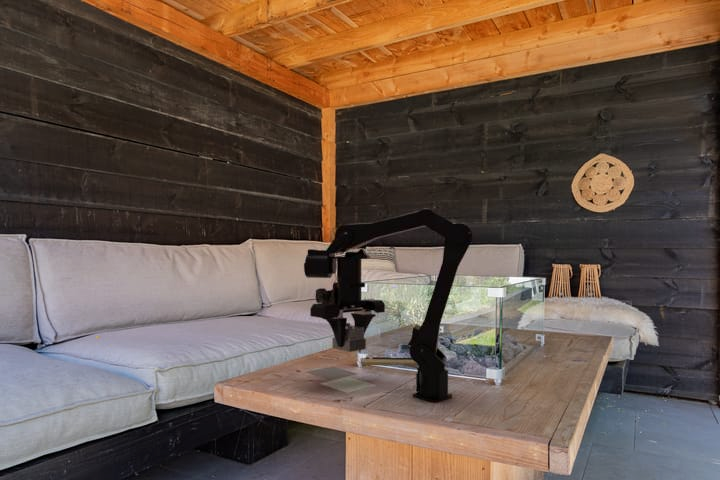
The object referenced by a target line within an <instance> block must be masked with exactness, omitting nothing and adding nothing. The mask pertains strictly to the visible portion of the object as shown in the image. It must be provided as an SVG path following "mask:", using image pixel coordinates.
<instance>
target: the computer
mask: <svg viewBox="0 0 720 480" xmlns="http://www.w3.org/2000/svg"><path fill="white" fill-rule="evenodd" d="M391 357H392V356H391ZM391 357H389V356H387V357H385V356H383V357H380V356H377V357H376V356H374V357H368V356H366V357H361V358H360V365H361V366H404V367H408V368H412V369H416V370H418V364H417V363H416V362H415V361H414V360H413V359H412V358H411V357H403V358H391Z"/></svg>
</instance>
